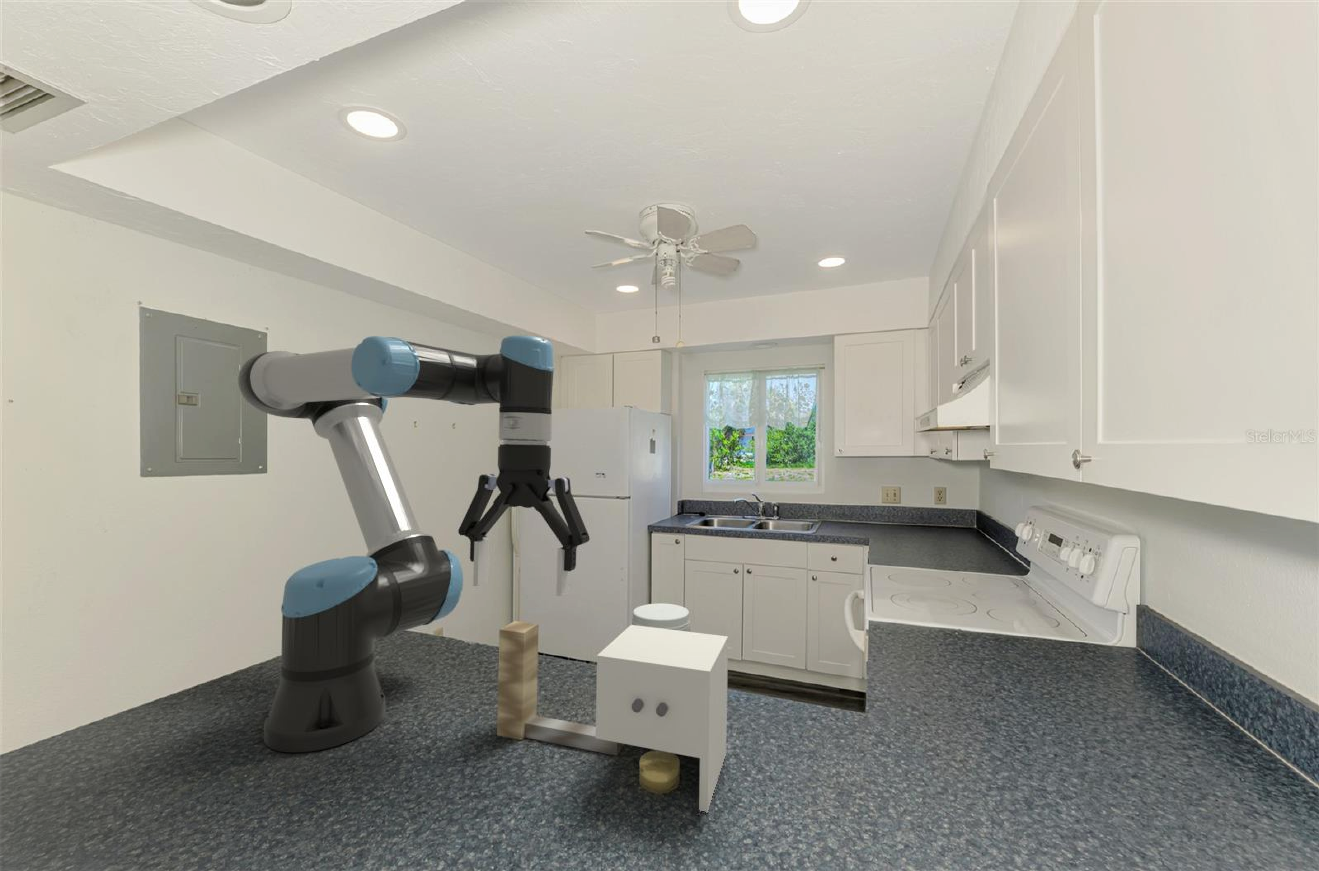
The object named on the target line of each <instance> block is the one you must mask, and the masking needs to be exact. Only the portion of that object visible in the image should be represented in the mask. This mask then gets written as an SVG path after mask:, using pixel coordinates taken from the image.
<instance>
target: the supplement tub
mask: <svg viewBox="0 0 1319 871" xmlns="http://www.w3.org/2000/svg"><path fill="white" fill-rule="evenodd" d="M631 621H632V623H631V625H637V626H645V627H653V628H662V629H670V630H678V631H686V632H691V620H690V611H689V610H688V609H687V608H686V607H684V606H682V605H678V604H673V603H661V602H660V603H649V604H643V605H640V606H637V607H635V608H634V609H633V612H632V620H631Z"/></svg>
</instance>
